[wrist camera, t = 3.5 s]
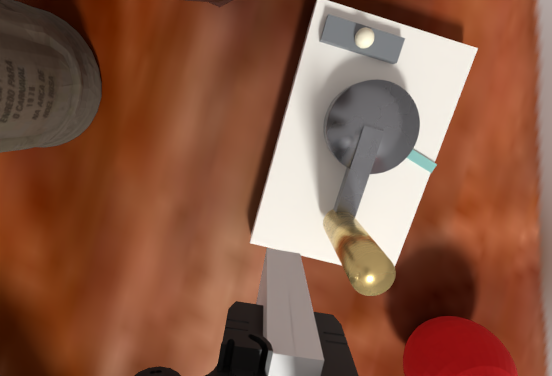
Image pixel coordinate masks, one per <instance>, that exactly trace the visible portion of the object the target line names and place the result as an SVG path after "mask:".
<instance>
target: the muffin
mask: <svg viewBox="0 0 552 376" xmlns="http://www.w3.org/2000/svg"><path fill="white" fill-rule="evenodd" d="M187 1H204V2H209V3H212V4H214V5H216V6H219V7H221V6H223V5H225V4H227V3H228V2H230V1H232V0H187Z"/></svg>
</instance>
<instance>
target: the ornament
mask: <svg viewBox="0 0 552 376" xmlns="http://www.w3.org/2000/svg"><path fill="white" fill-rule="evenodd" d="M403 368H404V374H405V376H518V373H517V369H516V366H515V364H514V361H513V359H512V357H511V355H510V353H509V352H508V350H507V349H506V348H505V346H504V345H503V344H502V343H501V341H500V340H499V339H498V338H497V337H496V336H495V335H493V334H492V333H491V332H490V331H489V330H487V329H486V328H485V327H483V326H481V325H479V324H477V323H475V322H473V321H471V320H469V319H465V318H461V317H456V316H441V317H437V318H433V319H430V320H428V321H426V322H424V323H422V324H421V325H419V326H418V327H417V328H416V329H415V330H414V331H413V333H412V334H411V335H410V337H409V338H408V340H407V343H406V345H405V350H404V355H403Z"/></svg>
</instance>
